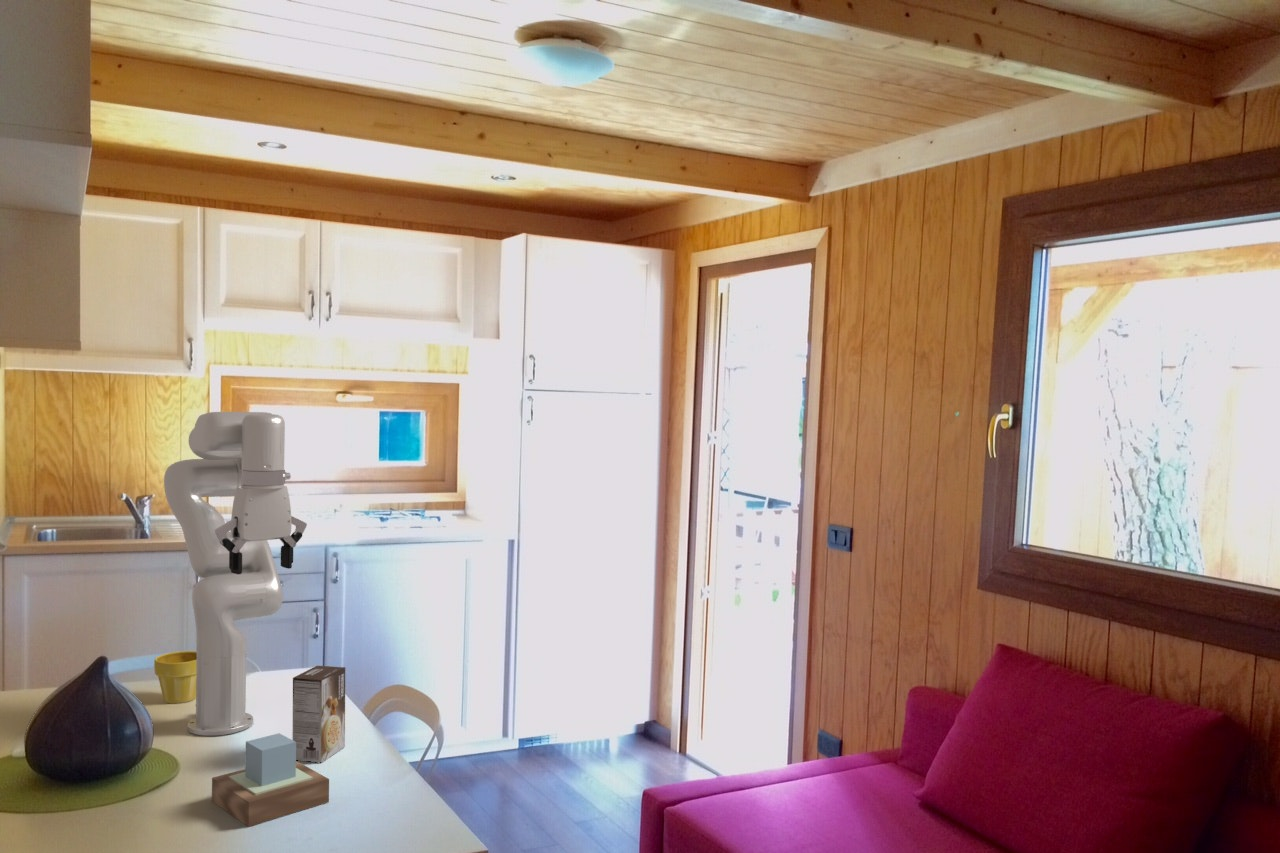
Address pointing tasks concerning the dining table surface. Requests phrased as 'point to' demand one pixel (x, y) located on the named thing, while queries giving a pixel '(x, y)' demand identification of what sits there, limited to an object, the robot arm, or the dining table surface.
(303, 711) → the coffee box
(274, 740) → the cube
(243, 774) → the plinth
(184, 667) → the plant pot
